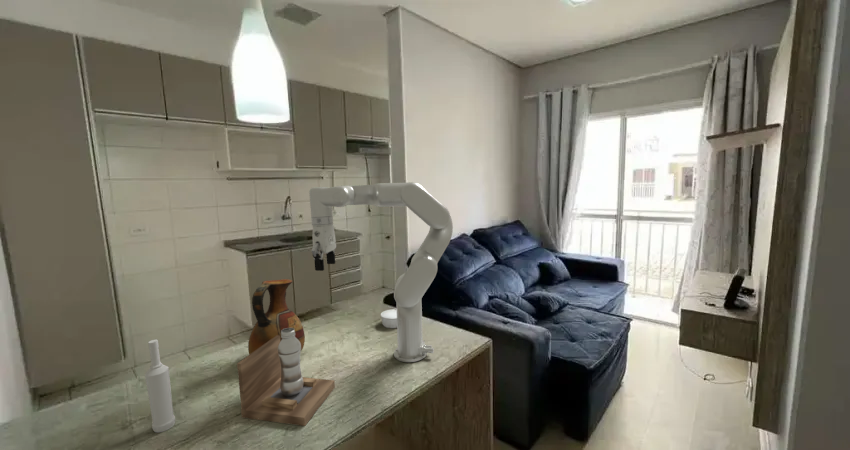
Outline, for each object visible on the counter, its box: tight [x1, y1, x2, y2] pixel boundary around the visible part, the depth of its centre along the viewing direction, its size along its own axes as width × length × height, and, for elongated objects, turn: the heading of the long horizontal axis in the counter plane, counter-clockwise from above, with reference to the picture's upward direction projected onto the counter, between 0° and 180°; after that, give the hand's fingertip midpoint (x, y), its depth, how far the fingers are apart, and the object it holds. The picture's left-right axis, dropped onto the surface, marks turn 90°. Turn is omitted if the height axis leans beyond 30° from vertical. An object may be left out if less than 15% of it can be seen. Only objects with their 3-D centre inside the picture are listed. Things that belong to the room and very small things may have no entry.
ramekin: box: [380, 308, 397, 329], centre depth 161 cm, size 11×11×5 cm
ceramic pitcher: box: [247, 278, 306, 355], centre depth 131 cm, size 20×20×30 cm
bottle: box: [144, 339, 176, 433], centre depth 94 cm, size 5×5×25 cm
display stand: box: [236, 335, 336, 427], centre depth 104 cm, size 20×18×16 cm
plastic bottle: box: [278, 328, 304, 396], centre depth 104 cm, size 6×7×20 cm
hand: (325, 266), depth 128 cm, fingers open, 9 cm apart
